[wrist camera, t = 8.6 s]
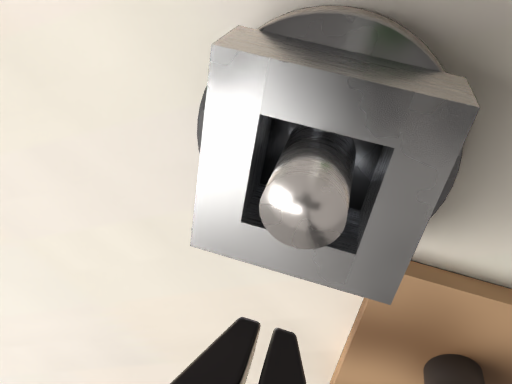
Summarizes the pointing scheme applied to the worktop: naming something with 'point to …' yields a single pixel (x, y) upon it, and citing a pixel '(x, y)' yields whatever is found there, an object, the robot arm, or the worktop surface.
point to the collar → (336, 121)
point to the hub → (327, 133)
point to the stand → (431, 333)
